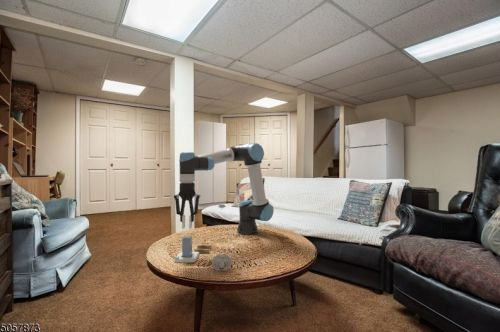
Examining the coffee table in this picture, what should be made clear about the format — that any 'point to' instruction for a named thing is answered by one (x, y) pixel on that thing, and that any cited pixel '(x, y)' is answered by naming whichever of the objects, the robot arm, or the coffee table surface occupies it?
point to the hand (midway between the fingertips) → (187, 228)
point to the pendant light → (221, 258)
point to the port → (186, 259)
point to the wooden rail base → (203, 249)
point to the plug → (187, 246)
